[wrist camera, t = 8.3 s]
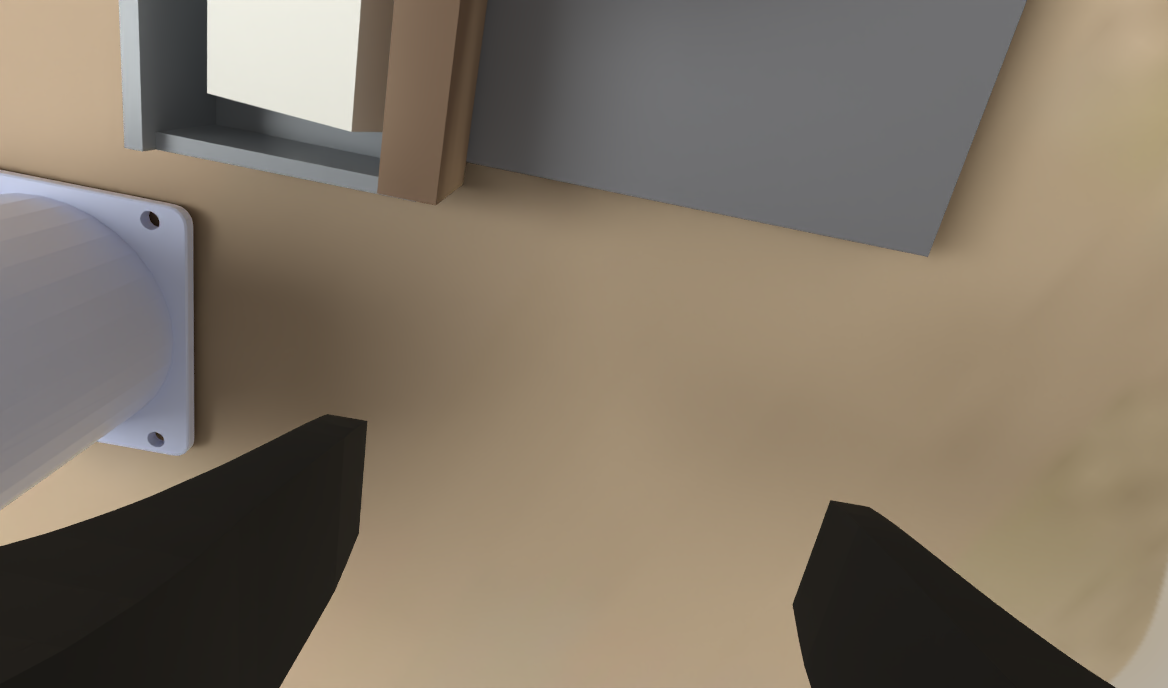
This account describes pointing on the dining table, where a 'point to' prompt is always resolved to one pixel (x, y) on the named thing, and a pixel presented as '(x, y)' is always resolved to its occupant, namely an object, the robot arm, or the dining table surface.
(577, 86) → the charcoal board
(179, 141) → the tray
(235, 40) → the matte white cube
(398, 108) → the walnut mallet
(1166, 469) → the dining table surface
